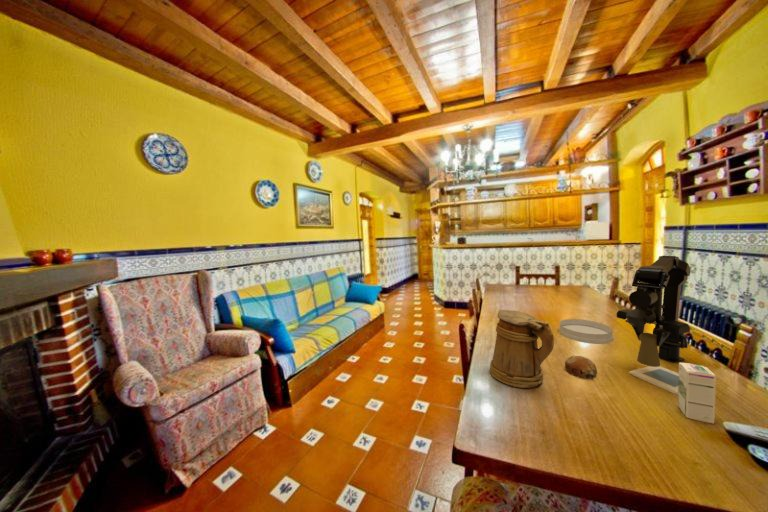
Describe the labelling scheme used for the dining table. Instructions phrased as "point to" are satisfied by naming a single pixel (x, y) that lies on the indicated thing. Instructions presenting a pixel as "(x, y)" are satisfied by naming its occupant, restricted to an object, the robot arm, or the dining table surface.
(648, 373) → the plate
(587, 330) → the dish
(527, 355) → the tankard
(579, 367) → the bread roll
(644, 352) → the cork
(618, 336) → the dining table surface
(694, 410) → the syrup box
